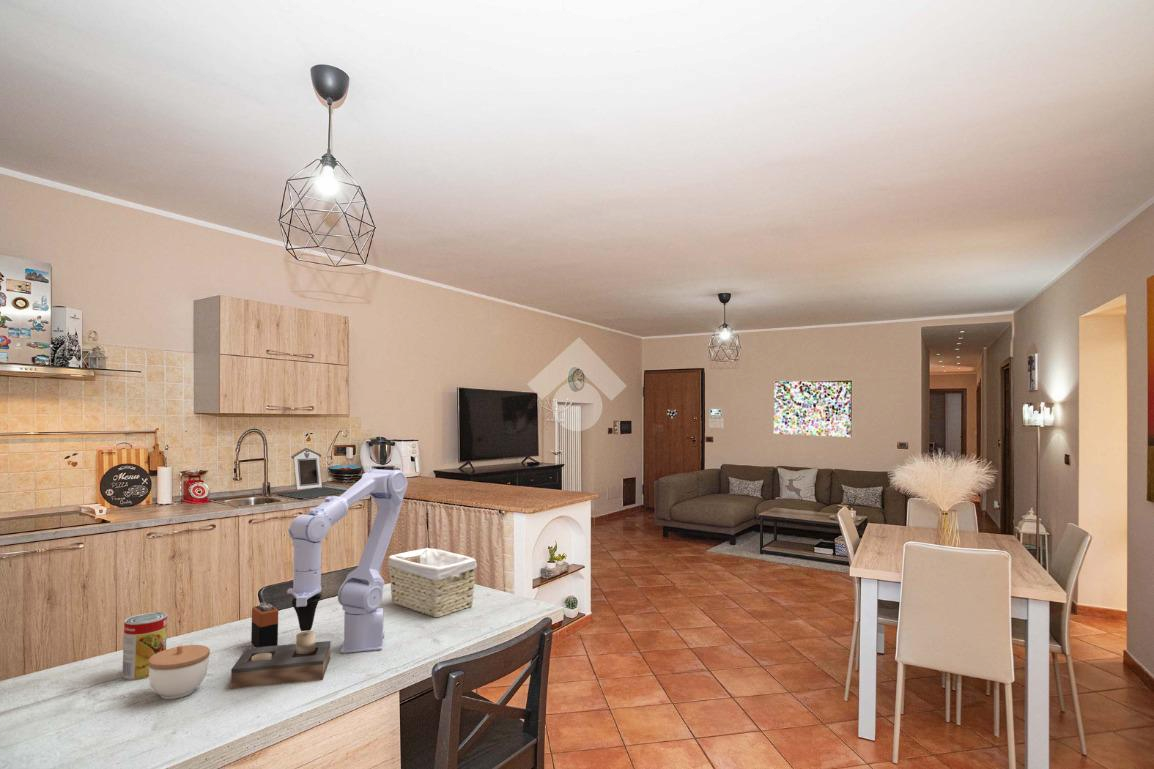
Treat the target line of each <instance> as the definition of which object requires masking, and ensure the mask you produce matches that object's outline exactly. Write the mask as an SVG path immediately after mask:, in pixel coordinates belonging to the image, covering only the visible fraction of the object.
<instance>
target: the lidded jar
mask: <svg viewBox="0 0 1154 769" xmlns="http://www.w3.org/2000/svg"><path fill="white" fill-rule="evenodd" d="M210 651H211V650H210V648H209V647H208V646H207V645H201V644H188V645H182V644H180V645H177V646H173V647H171V648H166V650H163V651H160V652H158V653H156V654H154V655H153V656H151V657H150V658H149V660H148V666H149V678H148V680H149V685H150V687H151V688H152V690H153V691H154V692H155V693H156V694H157V695H159V696H160V698H162V699H164V700H174V699H179V698H183V697H186V696H189V695H191V694H193V693H194V692H195V691H196V689H197V688H198V687H199V686H200V684H201V683H202V682H203V680H204V679H205V678H206V675H207V671H208V667H209V662H210V657H209V656H210V654H211V652H210Z"/></svg>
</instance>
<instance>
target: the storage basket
mask: <svg viewBox="0 0 1154 769" xmlns="http://www.w3.org/2000/svg"><path fill="white" fill-rule="evenodd" d="M417 559H418V561H417V562H413V561H415V560H417ZM387 566H388V569H389V576H390V577H389V578H390V593H391V602H392V603H393V604H395V605H398V606H401V607H404V608H407V609H411V610H412V611H415V610H416V611H415V612H417V611H418V613H419V612H421V614H424V613H425V614H424V615H428V616H432V617H433V618H441V617H444V616H447V615H449V614H453V612H454V613H456V611H457V612H460V611H462V610H465V609H464V608H466V609H468V608H470V607H472V606H473V602H474V601H473V600H474V591H475V589H474V588H475V583H476V582H475V580H476V579H475V576H476V569H477V567H478V564H477V561H476V559H475V558H473V557H471V556H467V555H463V554H459V553H454V552H450V551H447V550H442V549H439V548H430V547H425V548H420V549H415V550H411V551H410V550H409V551H405V552H400V553H396V554H392V555H389V556H388V561H387ZM459 610H460V611H459Z"/></svg>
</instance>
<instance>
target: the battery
mask: <svg viewBox="0 0 1154 769" xmlns="http://www.w3.org/2000/svg"><path fill="white" fill-rule="evenodd" d="M250 632H251V633H250V634H251V636H250V637H251V638H250V639H251V640H250V641H251V644H252V646H254V648H255V647H266V646H278V642H279V640H278V639H279V609H277V608H276V607H274V605H272V604H270V603H267V602H260V603H259V605H257V606H252V608H251V631H250Z"/></svg>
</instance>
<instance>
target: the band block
mask: <svg viewBox="0 0 1154 769" xmlns="http://www.w3.org/2000/svg"><path fill="white" fill-rule="evenodd" d="M331 643H332V642H331V640H326V641H316V644H315V651H313V652H311V653H307V654H298V653H296V643H292V644H291V643H290V644H282V645H281V644H280V645H277V646H266V647H255V646H254V647H246V648H245V650H244V651H243V652H242V654H240V656H239V658H238V660H236V661H235V663H234V665H233V666H232V668H230V690H231V689H233V690H234V689H240V688H241V689H242V688H251V687H252V688H253V687H262V686H272V685H281V684H282V683H283V684H291V683H300V682H312V681H321V680H324V678H325V675H326V672H327V669H328V665H329V663H330V660H331V645H332V644H331ZM260 653H271V654H272V659H270V660H259V661H251V658H252V656H254V655H256V654H260Z"/></svg>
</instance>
